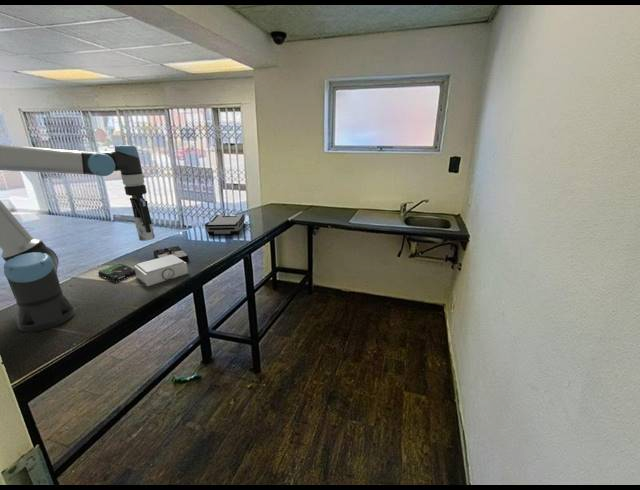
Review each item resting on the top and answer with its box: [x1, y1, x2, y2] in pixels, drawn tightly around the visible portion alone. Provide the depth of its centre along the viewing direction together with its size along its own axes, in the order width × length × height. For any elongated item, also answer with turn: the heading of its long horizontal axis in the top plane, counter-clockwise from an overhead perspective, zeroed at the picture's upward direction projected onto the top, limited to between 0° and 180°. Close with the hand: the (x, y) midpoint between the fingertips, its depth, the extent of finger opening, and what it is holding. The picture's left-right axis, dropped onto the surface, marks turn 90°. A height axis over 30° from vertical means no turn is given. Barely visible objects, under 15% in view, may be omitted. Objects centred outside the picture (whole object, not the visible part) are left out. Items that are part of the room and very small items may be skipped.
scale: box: [133, 255, 189, 287], centre depth 137 cm, size 18×15×6 cm
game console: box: [204, 214, 246, 236], centre depth 209 cm, size 21×32×8 cm, turn 5°
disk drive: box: [97, 263, 136, 283], centre depth 138 cm, size 10×3×15 cm
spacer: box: [133, 216, 155, 242], centre depth 127 cm, size 6×6×10 cm
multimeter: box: [153, 245, 189, 263], centre depth 157 cm, size 13×19×5 cm
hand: (146, 237), depth 129 cm, fingers closed on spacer, 6 cm apart
